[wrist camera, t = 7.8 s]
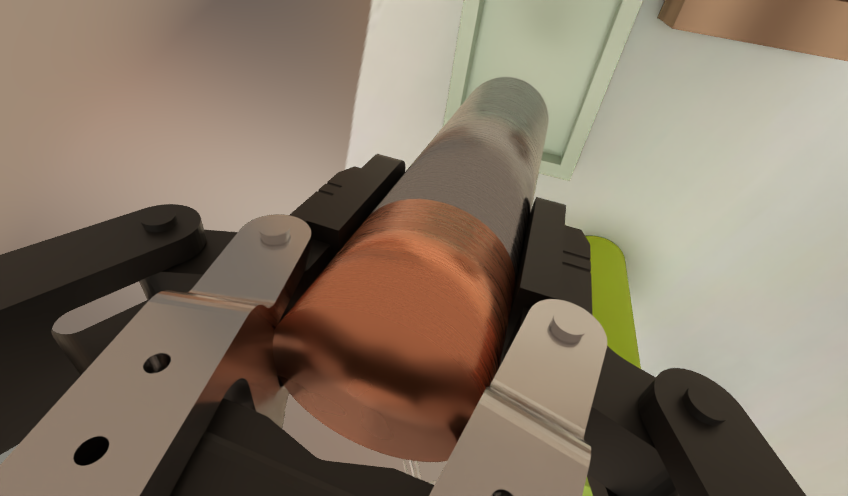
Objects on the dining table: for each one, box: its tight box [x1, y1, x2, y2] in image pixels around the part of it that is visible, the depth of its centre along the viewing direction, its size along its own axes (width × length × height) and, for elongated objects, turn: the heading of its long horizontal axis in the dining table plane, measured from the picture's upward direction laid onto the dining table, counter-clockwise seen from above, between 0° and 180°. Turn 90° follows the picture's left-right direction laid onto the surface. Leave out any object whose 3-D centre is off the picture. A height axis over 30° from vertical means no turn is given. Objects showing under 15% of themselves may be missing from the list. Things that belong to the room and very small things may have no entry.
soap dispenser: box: [582, 236, 641, 496], centre depth 27 cm, size 6×7×20 cm
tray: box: [443, 0, 643, 181], centre depth 26 cm, size 10×14×2 cm
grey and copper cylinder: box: [273, 77, 549, 462], centre depth 11 cm, size 4×4×13 cm
